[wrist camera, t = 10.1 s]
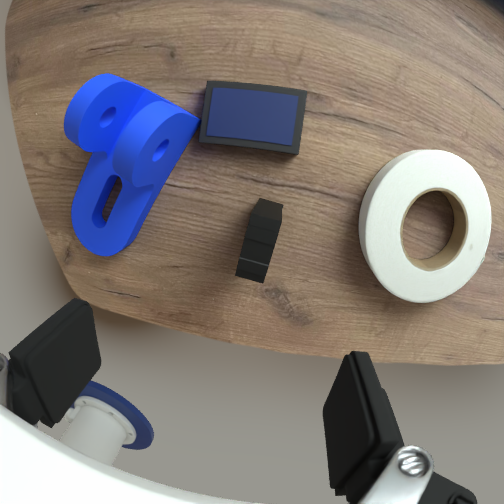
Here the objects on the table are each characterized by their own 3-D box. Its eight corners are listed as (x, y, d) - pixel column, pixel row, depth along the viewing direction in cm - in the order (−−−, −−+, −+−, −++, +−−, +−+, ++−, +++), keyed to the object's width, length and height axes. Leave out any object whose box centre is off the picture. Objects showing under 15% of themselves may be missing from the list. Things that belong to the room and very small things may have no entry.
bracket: (140, 85, 24) (89, 66, 16) (202, 120, 25) (166, 106, 17) (74, 224, 30) (23, 247, 22) (123, 263, 31) (78, 298, 22)
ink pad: (202, 143, 26) (197, 142, 24) (210, 83, 24) (206, 80, 22) (297, 154, 25) (298, 154, 24) (306, 93, 23) (307, 90, 22)
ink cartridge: (269, 251, 29) (263, 287, 21) (246, 245, 29) (233, 278, 21) (283, 203, 27) (283, 222, 19) (260, 197, 27) (250, 213, 19)
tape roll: (343, 284, 29) (349, 297, 26) (370, 133, 24) (379, 131, 21) (457, 296, 28) (468, 307, 25) (488, 170, 23) (502, 173, 20)
